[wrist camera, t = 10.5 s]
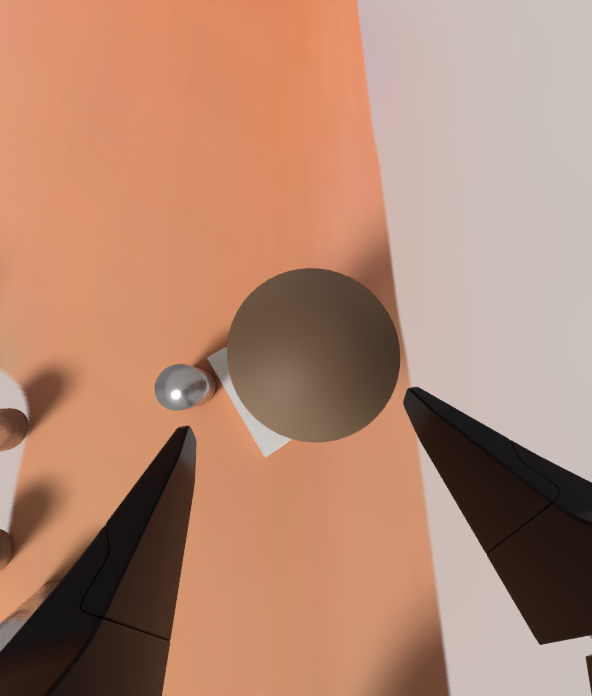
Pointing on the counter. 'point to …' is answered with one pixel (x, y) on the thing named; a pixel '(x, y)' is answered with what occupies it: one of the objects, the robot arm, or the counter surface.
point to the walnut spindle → (313, 355)
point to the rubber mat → (260, 433)
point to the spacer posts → (12, 426)
